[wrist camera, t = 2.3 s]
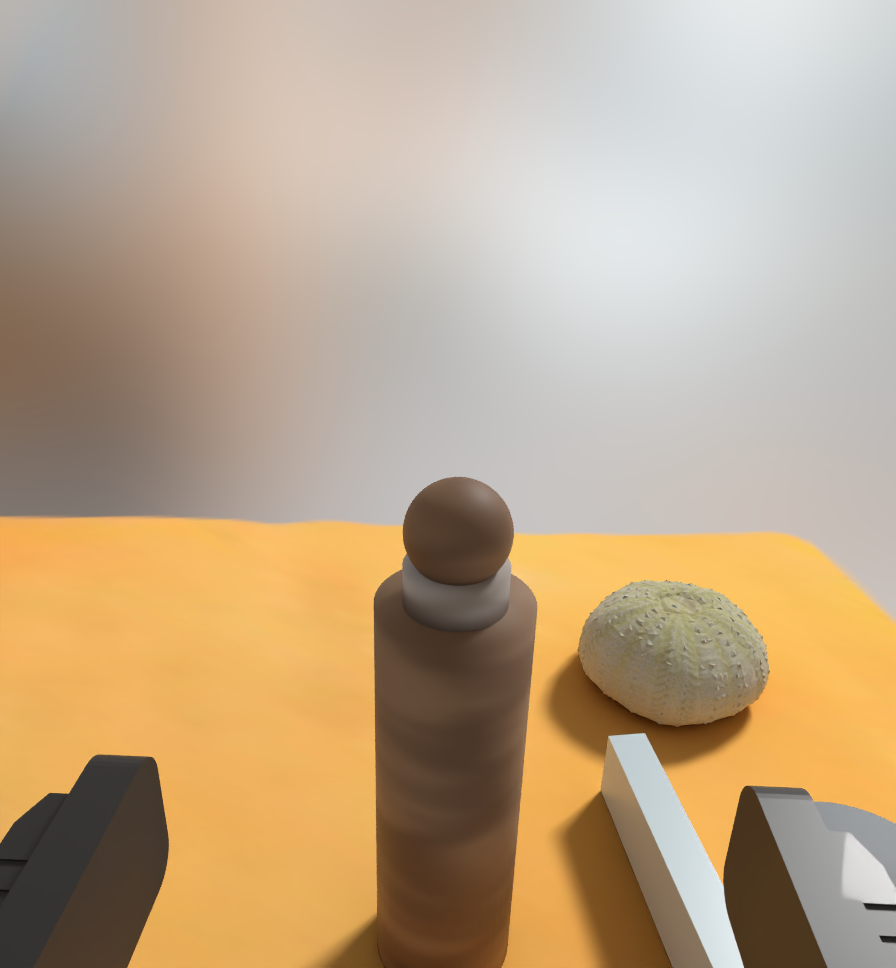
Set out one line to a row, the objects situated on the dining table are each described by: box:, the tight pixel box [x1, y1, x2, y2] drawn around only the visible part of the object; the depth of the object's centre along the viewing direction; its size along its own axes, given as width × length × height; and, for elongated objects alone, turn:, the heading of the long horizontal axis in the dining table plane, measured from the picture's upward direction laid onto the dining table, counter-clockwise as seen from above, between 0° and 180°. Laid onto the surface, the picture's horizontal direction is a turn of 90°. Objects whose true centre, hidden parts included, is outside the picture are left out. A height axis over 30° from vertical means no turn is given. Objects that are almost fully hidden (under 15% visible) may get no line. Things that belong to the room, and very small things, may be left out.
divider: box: [601, 733, 744, 968], centre depth 29 cm, size 2×12×3 cm, turn 8°
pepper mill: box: [374, 477, 537, 968], centre depth 25 cm, size 5×5×18 cm
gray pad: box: [814, 802, 896, 889], centre depth 31 cm, size 8×8×1 cm
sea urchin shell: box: [578, 580, 770, 727], centre depth 42 cm, size 9×8×8 cm
